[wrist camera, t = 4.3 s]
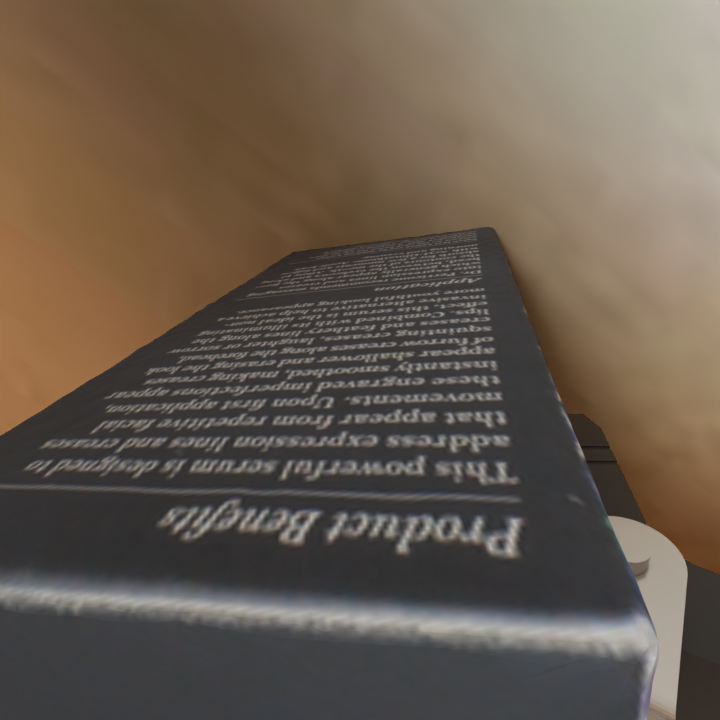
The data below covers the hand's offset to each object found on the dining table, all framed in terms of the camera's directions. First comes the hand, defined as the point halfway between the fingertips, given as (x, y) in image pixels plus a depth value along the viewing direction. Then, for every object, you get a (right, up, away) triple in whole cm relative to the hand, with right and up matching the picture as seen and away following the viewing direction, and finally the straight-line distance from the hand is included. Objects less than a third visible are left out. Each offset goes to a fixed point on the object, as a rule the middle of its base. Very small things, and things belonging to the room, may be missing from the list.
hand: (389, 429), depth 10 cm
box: (+1, +2, +3) cm, 3 cm away
